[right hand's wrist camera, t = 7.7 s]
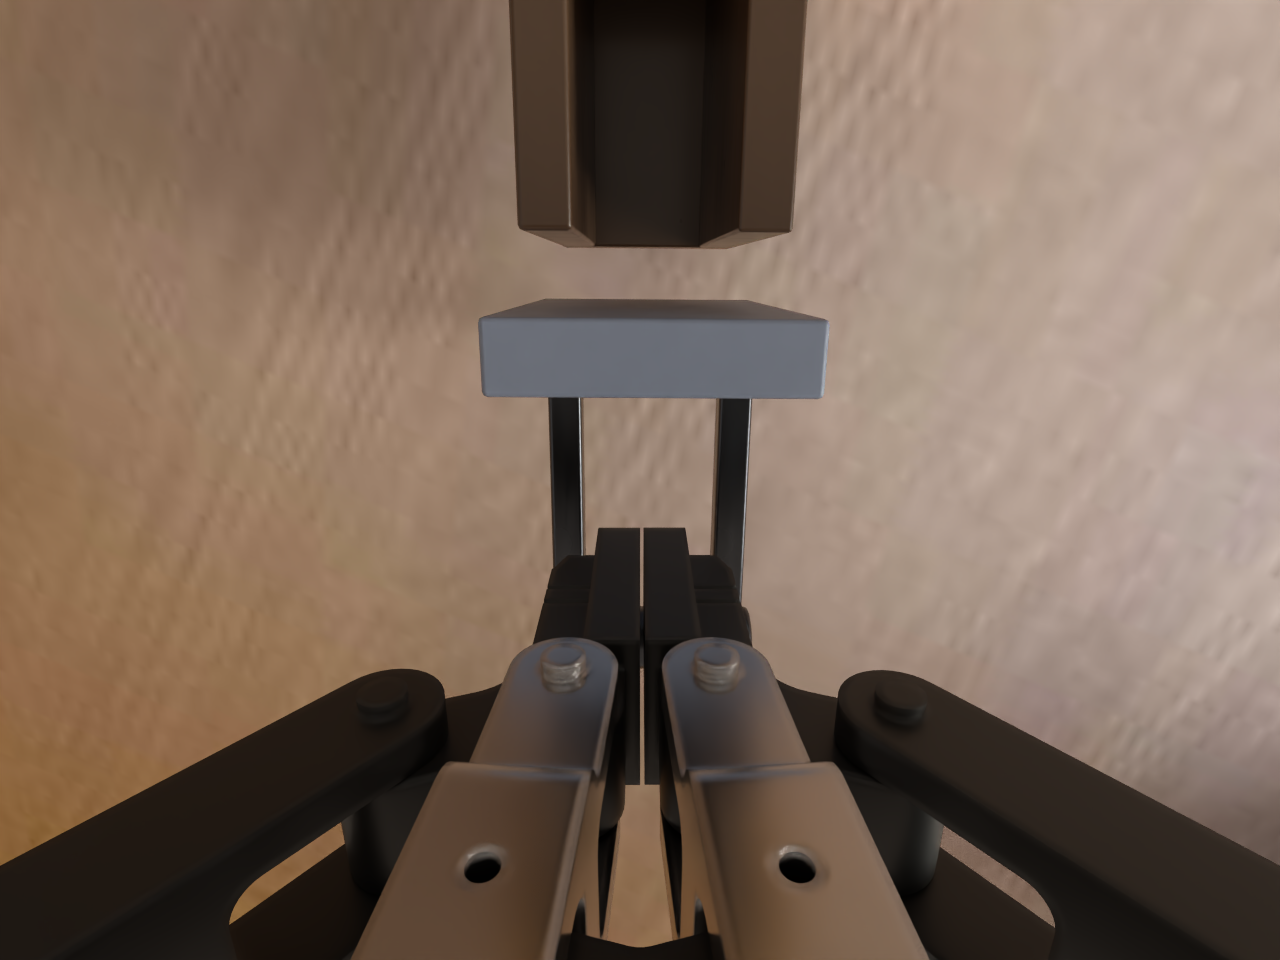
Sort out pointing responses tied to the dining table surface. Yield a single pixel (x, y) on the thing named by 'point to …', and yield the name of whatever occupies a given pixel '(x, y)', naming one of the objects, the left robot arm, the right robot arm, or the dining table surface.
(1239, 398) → the dining table surface
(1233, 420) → the dining table surface
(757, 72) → the drawer
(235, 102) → the dining table surface
